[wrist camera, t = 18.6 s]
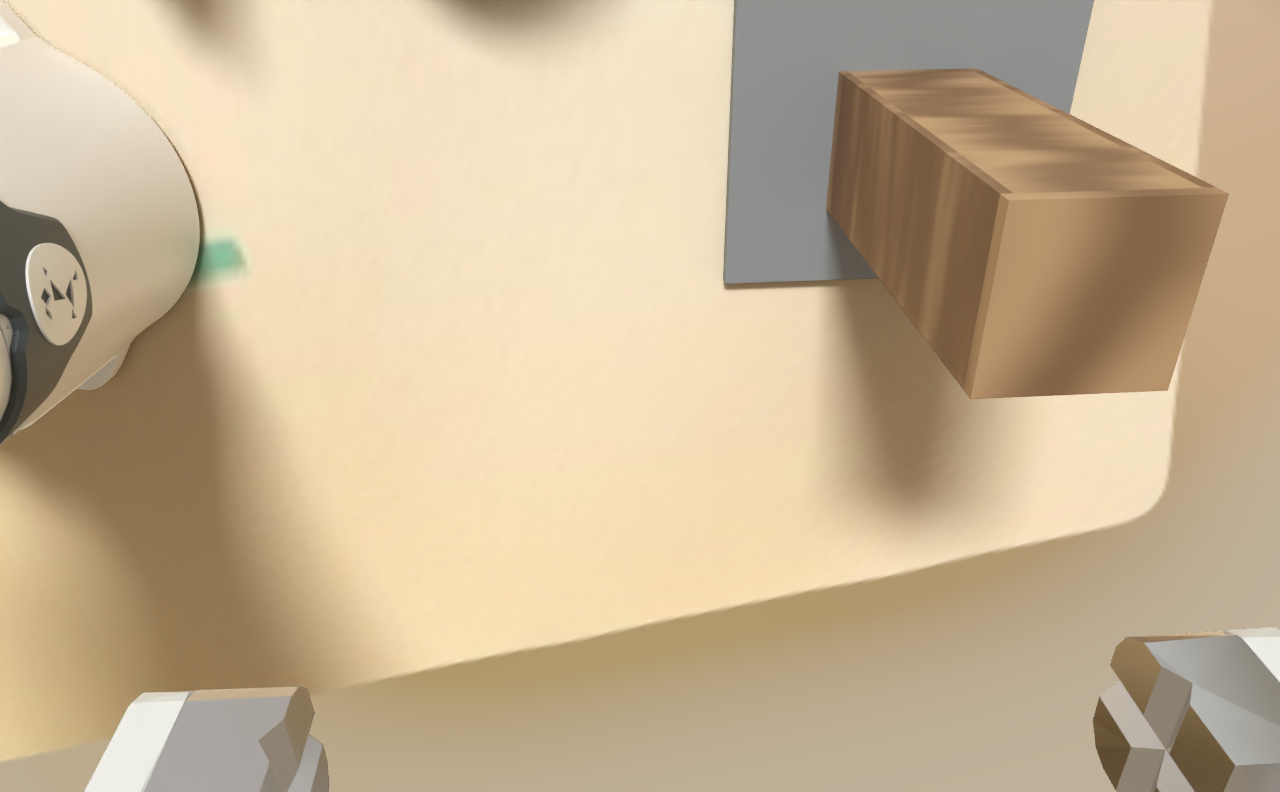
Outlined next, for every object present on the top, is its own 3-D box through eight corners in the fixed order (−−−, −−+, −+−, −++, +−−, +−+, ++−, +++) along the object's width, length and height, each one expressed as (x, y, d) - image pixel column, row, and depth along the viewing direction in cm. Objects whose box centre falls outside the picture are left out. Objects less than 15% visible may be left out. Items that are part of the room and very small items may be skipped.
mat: (723, 278, 48) (725, 283, 47) (735, -22, 41) (737, -20, 40) (1029, 268, 49) (1035, 272, 48) (1092, -27, 42) (1099, -26, 41)
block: (826, 208, 45) (970, 399, 29) (838, 71, 42) (1008, 200, 26) (954, 204, 46) (1167, 390, 30) (977, 68, 43) (1228, 193, 27)
